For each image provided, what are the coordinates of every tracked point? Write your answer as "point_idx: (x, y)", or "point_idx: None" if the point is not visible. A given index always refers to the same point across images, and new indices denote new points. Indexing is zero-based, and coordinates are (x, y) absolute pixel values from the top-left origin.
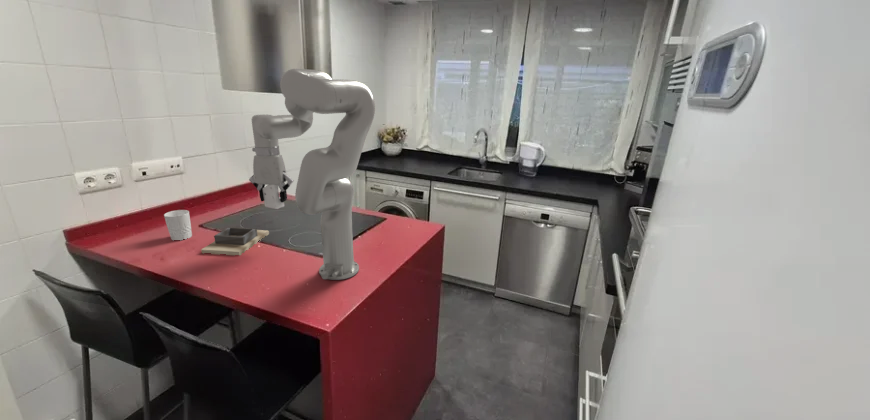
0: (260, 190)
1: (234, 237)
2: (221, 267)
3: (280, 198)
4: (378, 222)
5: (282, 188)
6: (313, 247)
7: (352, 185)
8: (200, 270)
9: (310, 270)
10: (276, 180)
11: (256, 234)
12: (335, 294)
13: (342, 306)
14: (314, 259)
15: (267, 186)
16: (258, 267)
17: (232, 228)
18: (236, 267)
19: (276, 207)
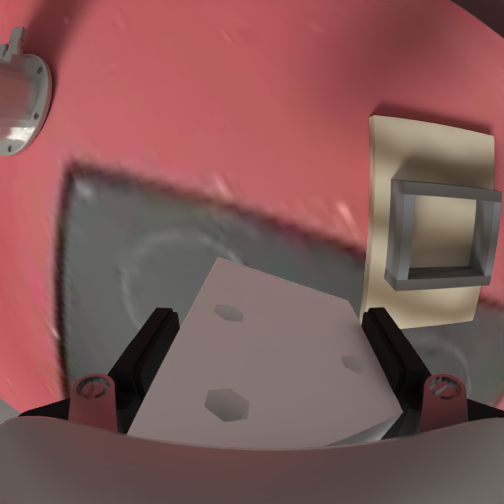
0: (420, 384)
1: (437, 184)
2: (369, 33)
3: (162, 327)
4: None
5: (80, 401)
6: (130, 233)
7: None
8: (413, 20)
9: (76, 75)
10: (16, 474)
11: (387, 275)
12: (15, 21)
13: (6, 3)
14: (88, 142)
15: (311, 434)
16: (243, 42)
17: (477, 275)
18: (320, 34)
19: (214, 263)
